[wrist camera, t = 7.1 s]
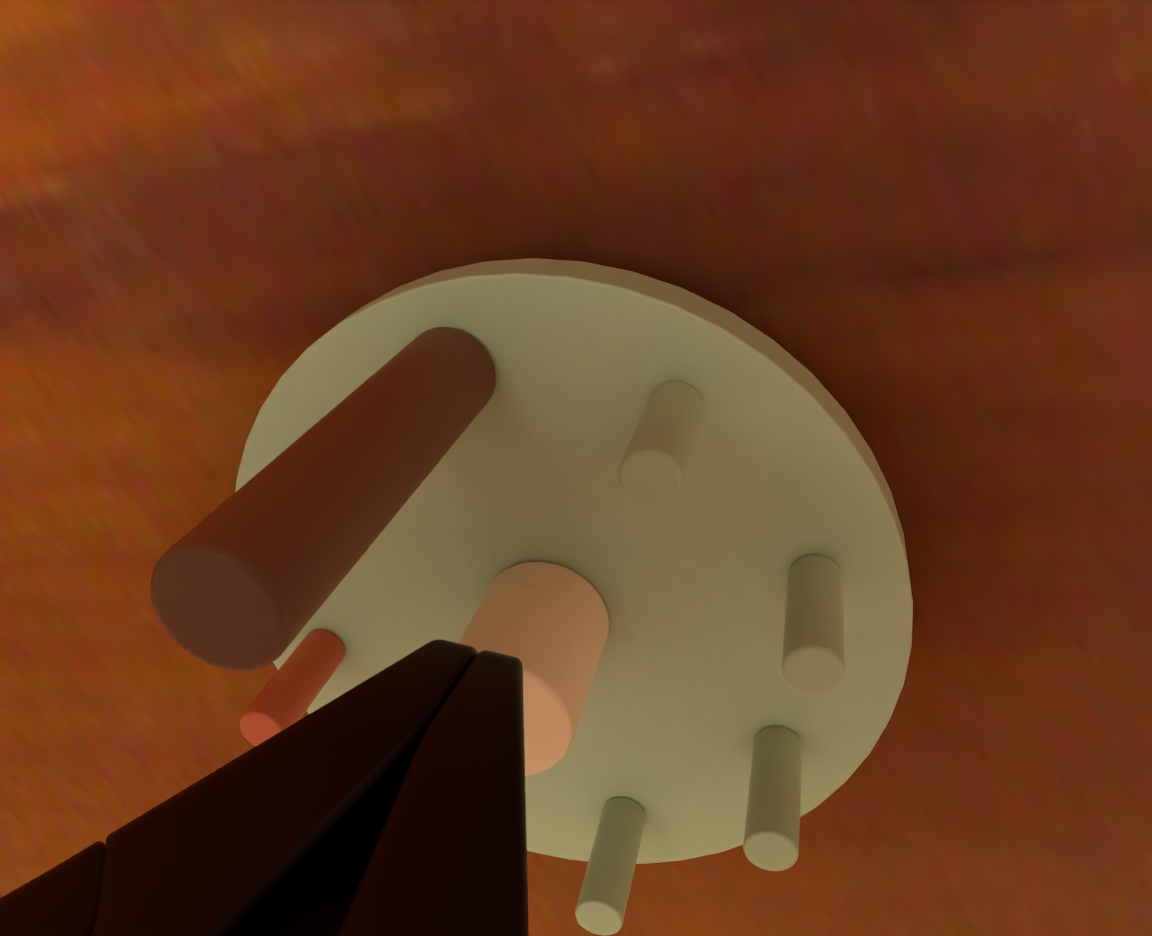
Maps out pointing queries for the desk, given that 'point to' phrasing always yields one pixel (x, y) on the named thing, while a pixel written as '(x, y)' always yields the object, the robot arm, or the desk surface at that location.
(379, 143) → the desk surface
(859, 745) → the pegged crank wheel
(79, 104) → the desk surface
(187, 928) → the robot arm
